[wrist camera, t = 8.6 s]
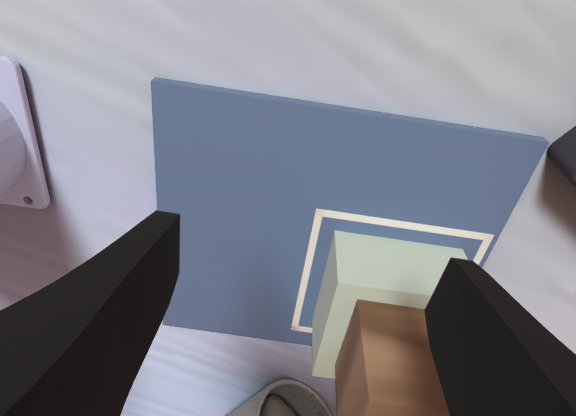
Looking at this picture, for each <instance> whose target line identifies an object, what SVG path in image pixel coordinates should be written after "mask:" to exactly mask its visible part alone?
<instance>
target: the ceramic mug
mask: <svg viewBox="0 0 576 416" xmlns="http://www.w3.org/2000/svg"><path fill="white" fill-rule="evenodd" d="M226 416H332V415H331V412H330V410H329V409H328V407H327V406H326V404H325V403H324V401H323V400H322V399H321V397H320V396H318V395H317V394H316V393H315V392H314V391H313V390H312V389H311V388H310V387H308V386H307V385H305V384H303V383H301V382H299V381H297V380H293V379H281V380H277V381H275V382H273V383H271V384H269V385H268V386H266V387H265V388H264V389H263V390H261V391H260V392H258V393H257V394H255V395H254V396H253V397H251V398H250V399H248V400H247V401H246V402H244V403H243V404H242V405H240V406H239V407H238V408H236V409H235V410H233V411H232V412H230V413H229V414H227V415H226Z"/></svg>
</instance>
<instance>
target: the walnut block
mask: <svg viewBox="0 0 576 416" xmlns="http://www.w3.org/2000/svg"><path fill="white" fill-rule="evenodd" d="M424 310H425V309H420V308H413V307H407V306H400V305H393V304H387V303H380V302H373V301H367V300H360V299H357V301H356V304H355V307H354V310H353V313H352V316H351V319H350V322H349V325H348V328H347V331H346V334H345V336H344V339H343V342H342V345H341V348H340V351H339V354H338V357H337V360H336V363H335V384H336V406H337V416H450V414H449V410H448V407H447V404H446V400H445V397H444V394H443V390H442V387H441V384H440V380H439V377H438V374H437V370H436V367H435V363H434V360H433V356H432V353H431V349H430V345H429V339H428V333H427V327H426V319H425V312H424Z"/></svg>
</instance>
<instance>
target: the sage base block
mask: <svg viewBox="0 0 576 416" xmlns="http://www.w3.org/2000/svg"><path fill="white" fill-rule="evenodd" d="M451 257H453V258H459V259H465V260H468V259H467V257H466V255H465V253H464V251H463V249H459V248H452V247H445V246H438V245H431V244H425V243H418V242H411V241H404V240H397V239H390V238H384V237H377V236H370V235H363V234H356V233H349V232H343V231H336V230H335V231H334V235H333V239H332V243H331V247H330V251H329V255H328V259H327V263H326V267H325V271H324V275H323V279H322V283H321V287H320V291H319V295H318V299H317V303H316V307H315V311H314V315H313V319H312V376H316V377H323V378H331V379H335V363H336V360H337V357H338V354H339V351H340V348H341V345H342V342H343V339H344V336H345V334H346V331H347V328H348V325H349V322H350V319H351V316H352V313H353V310H354V307H355V304H356V301H357V299H360V300H367V301H373V302H380V303H387V304H393V305H400V306H407V307H413V308H420V309H425V308H426V306H427V304H428V302H429V300H430V298H431V296H432V294H433V292H434V290H435V288H436V286H437V284H438V282H439V280H440V278H441V276H442V274H443V272H444V270H445V268H446V266H447V264H448V262H449V260H450V258H451Z"/></svg>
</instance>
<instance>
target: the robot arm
mask: <svg viewBox="0 0 576 416" xmlns="http://www.w3.org/2000/svg"><path fill="white" fill-rule="evenodd" d="M28 197H29V198H31V199H32V200H30V199H29V198H28ZM0 204H6V205H13V206H20V207H27V208H34V209H45V208H46V207H47V206H48V205H49V204H50V197H49V193H48V188H47V184H46V179H45V175H44V170H43V166H42V161H41V157H40V152H39V148H38V143H37V139H36V134H35V130H34V125H33V121H32V116H31V112H30V107H29V103H28V98H27V94H26V89H25V85H24V80H23V76H22V71H21V68H20V66H19V64H18V63H17V62H16V61H15V60H14V59H13V58H11V57H8V56H2V55H0ZM179 268H180V214H176V213H170V212H164V211H158V210H157V211H155V212H154V213H152V214H151V215H149V216H148V217H147V218H145V219H144V220H143V221H141V222H140V223H139V224H137V225H136V226H135V227H133V228H132V229H131V230H130V231H128V232H127V233H125V234H124V235H123V236H121V237H120V238H119V239H117V240H116V241H115V242H113V243H112V244H110V245H109V246H108V247H106V248H105V249H103V250H102V251H101V252H99V253H98V254H96V255H95V256H94V257H92V258H91V259H89V260H88V261H86V262H85V263H83V264H81V265H80V266H78V267H77V268H75V269H74V270H72V271H71V272H69V273H67V274H66V275H64V276H63V277H61V278H60V279H58V280H56V281H55V282H53V283H51V284H50V285H48V286H46V287H44V288H43V289H41V290H39V291H37V292H35V293H33V294H31V295H30V296H28V297H26V298H24V299H22V300H20V301H18V302H17V303H15V304H13V305H11V306H9V307H7V308H5V309H2V310H0V416H120V415H121V412H122V409H123V406H124V404H125V401H126V399H127V396H128V394H129V391H130V389H131V387H132V384H133V382H134V380H135V378H136V376H137V373H138V371H139V369H140V367H141V365H142V363H143V361H144V359H145V356H146V354H147V352H148V350H149V348H150V346H151V344H152V341H153V339H154V337H155V335H156V333H157V331H158V329H159V326H160V324H161V322H162V320H163V318H164V316H165V313H166V311H167V309H168V307H169V304H170V301H171V298H172V295H173V292H174V289H175V285H176V282H177V279H178V276H179ZM424 312H425V319H426V327H427V333H428V339H429V345H430V349H431V353H432V356H433V360H434V363H435V367H436V370H437V374H438V377H439V380H440V384H441V387H442V390H443V394H444V397H445V400H446V404H447V407H448V410H449V414H450V416H576V354H574V353H573V352H572V351H571V350H570V349H569V348H567V347H566V346H565V345H564V344H563V343H562V342H560V341H559V340H558V339H557V338H556V337H555V336H554V335H553V334H551V333H550V332H549V331H548V330H547V329H546V328H545V327H544V326H543V325H542V324H540V323H539V322H538V321H537V320H536V319H535V318H534V317H533V316H532V315H531V314H530V313H529V312H528V311H527V310H526V309H524V308H523V307H522V306H521V305H520V304H519V303H518V302H517V301H516V300H515V299H514V298H513V297H512V296H511V295H510V294H509V293H508V292H507V291H506V290H505V289H504V288H503V287H502V286H500V285H499V284H498V283H497V282H496V281H495V280H494V279H493V278H492V277H491V276H490V275H489V274H488V273H487V272H486V271H484V270H483V269H482V268H481V267H480V266H479V265H478V264H476V263H475V262H474V261H472V260H465V259H459V258H453V257H451V258H450V260H449V262H448V264H447V266H446V268H445V270H444V272H443V274H442V276H441V278H440V280H439V282H438V284H437V286H436V288H435V290H434V292H433V294H432V296H431V298H430V300H429V302H428V304H427V306H426V308H425V310H424Z"/></svg>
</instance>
